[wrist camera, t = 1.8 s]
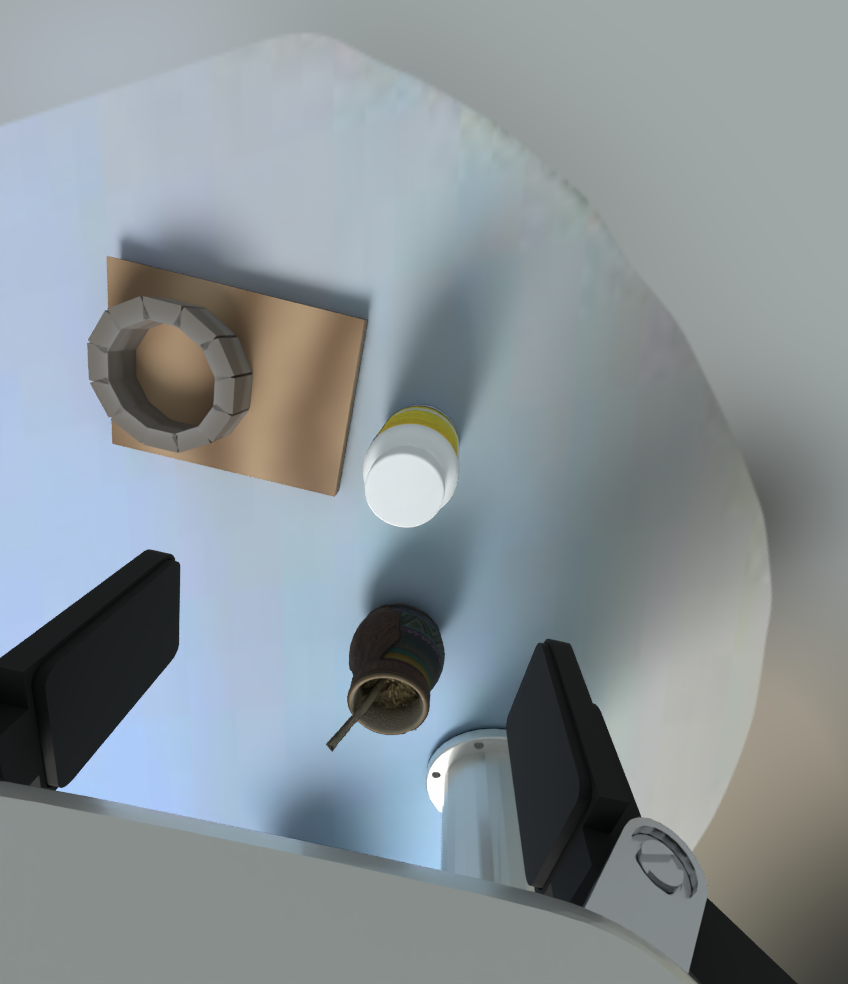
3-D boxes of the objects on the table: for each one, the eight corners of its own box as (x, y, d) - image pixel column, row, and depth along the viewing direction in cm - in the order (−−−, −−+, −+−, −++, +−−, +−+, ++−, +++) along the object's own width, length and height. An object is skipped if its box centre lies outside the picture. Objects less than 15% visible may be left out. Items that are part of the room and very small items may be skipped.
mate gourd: (463, 639, 36) (465, 749, 27) (391, 676, 38) (369, 790, 29) (412, 576, 34) (395, 671, 25) (339, 618, 36) (298, 721, 27)
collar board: (368, 320, 28) (356, 319, 24) (338, 490, 32) (325, 510, 29) (120, 259, 27) (72, 249, 24) (124, 439, 32) (84, 453, 28)
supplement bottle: (379, 403, 30) (346, 436, 21) (459, 403, 29) (462, 437, 20) (382, 478, 32) (354, 539, 22) (457, 479, 31) (459, 542, 22)
